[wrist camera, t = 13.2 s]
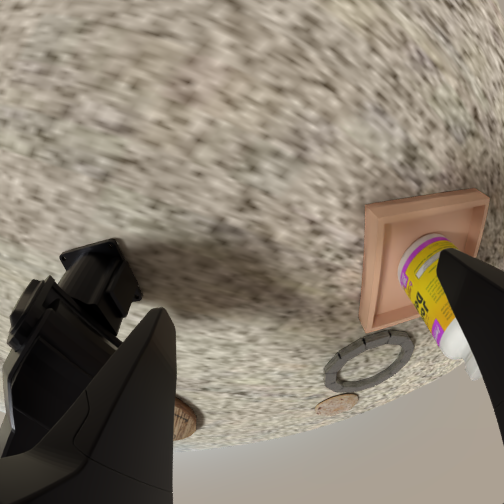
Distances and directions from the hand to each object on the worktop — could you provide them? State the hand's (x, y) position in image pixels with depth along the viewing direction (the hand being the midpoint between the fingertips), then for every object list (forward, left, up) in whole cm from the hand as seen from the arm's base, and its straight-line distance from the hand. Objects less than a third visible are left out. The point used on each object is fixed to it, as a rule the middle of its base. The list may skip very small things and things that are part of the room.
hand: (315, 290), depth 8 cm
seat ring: (+10, -28, -13) cm, 32 cm away
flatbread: (+6, -40, -14) cm, 43 cm away
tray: (+14, -11, -13) cm, 22 cm away
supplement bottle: (+14, -11, -12) cm, 22 cm away
